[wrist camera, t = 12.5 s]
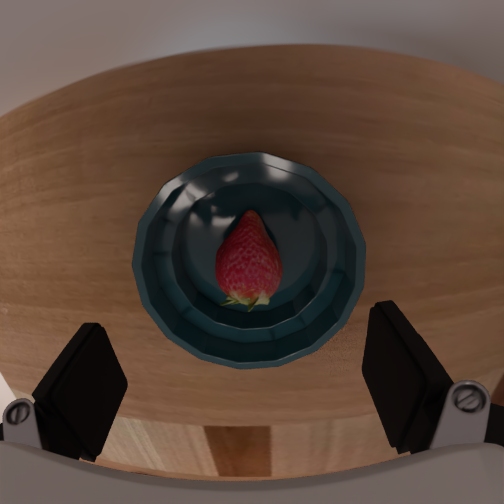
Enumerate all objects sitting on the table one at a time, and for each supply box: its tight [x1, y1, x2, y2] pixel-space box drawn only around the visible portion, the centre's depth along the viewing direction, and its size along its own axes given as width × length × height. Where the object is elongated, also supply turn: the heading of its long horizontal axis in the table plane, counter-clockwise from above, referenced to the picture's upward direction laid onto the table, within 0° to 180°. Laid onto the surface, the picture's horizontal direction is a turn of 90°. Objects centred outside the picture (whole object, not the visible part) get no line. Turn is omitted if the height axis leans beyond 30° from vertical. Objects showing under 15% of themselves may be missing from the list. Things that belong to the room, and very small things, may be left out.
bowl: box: [132, 151, 366, 369], centre depth 19 cm, size 13×13×5 cm
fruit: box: [215, 210, 283, 312], centre depth 18 cm, size 4×6×5 cm
